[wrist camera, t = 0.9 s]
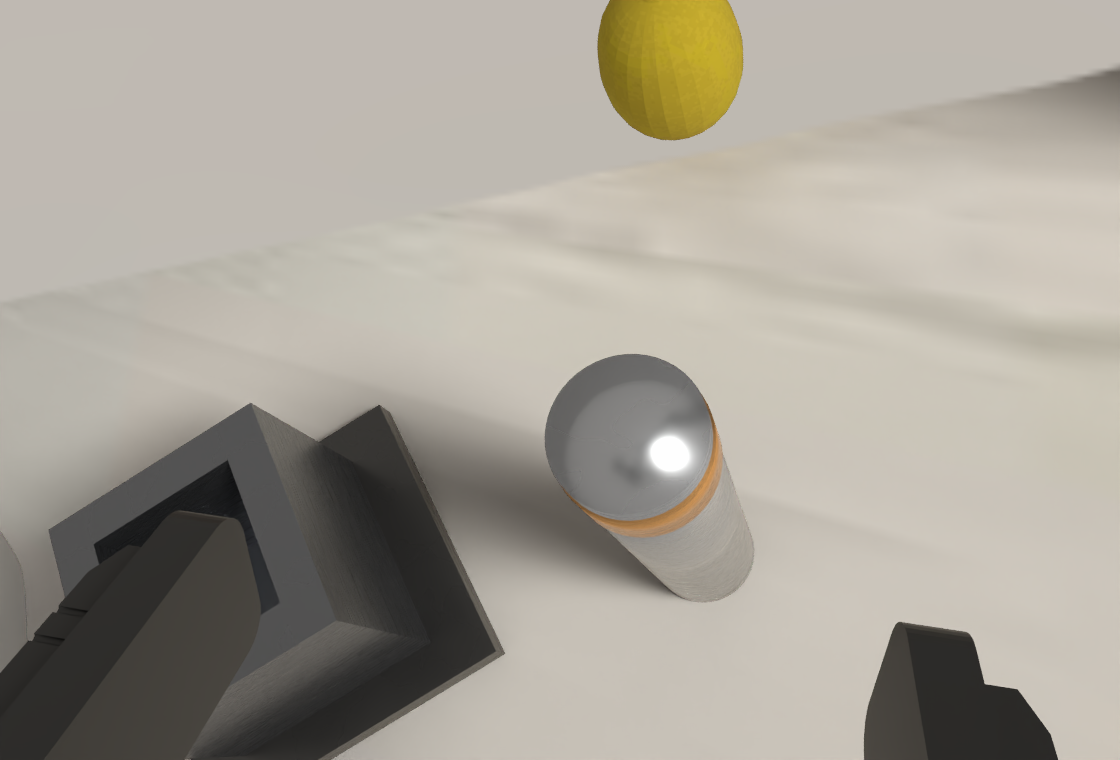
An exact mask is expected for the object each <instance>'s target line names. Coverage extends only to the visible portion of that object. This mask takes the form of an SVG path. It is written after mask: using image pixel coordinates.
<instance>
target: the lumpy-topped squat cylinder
mask: <svg viewBox="0 0 1120 760" xmlns="http://www.w3.org/2000/svg"><path fill="white" fill-rule="evenodd" d="M26 643H27V621H26V598H25V587H24V579H23V573H22V569H21V566H20V563H19V561H18V559H17V557H16V555H15V553H14V551H13V549H12V548H11V546H10V544H9V543H8V541H7V540H6V538H5V537H4V535H3V534H2V532H1V531H0V672H1V671H2V670H3V669H4V668H5V667H6V666H7V664H8V663H9V662H10V661H11V660H12V659H13V658H14V656H15V655H16V654H17V653H18V652H19V651H20V649H21V648H22V647H23V646H24V645H25V644H26Z"/></svg>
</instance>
